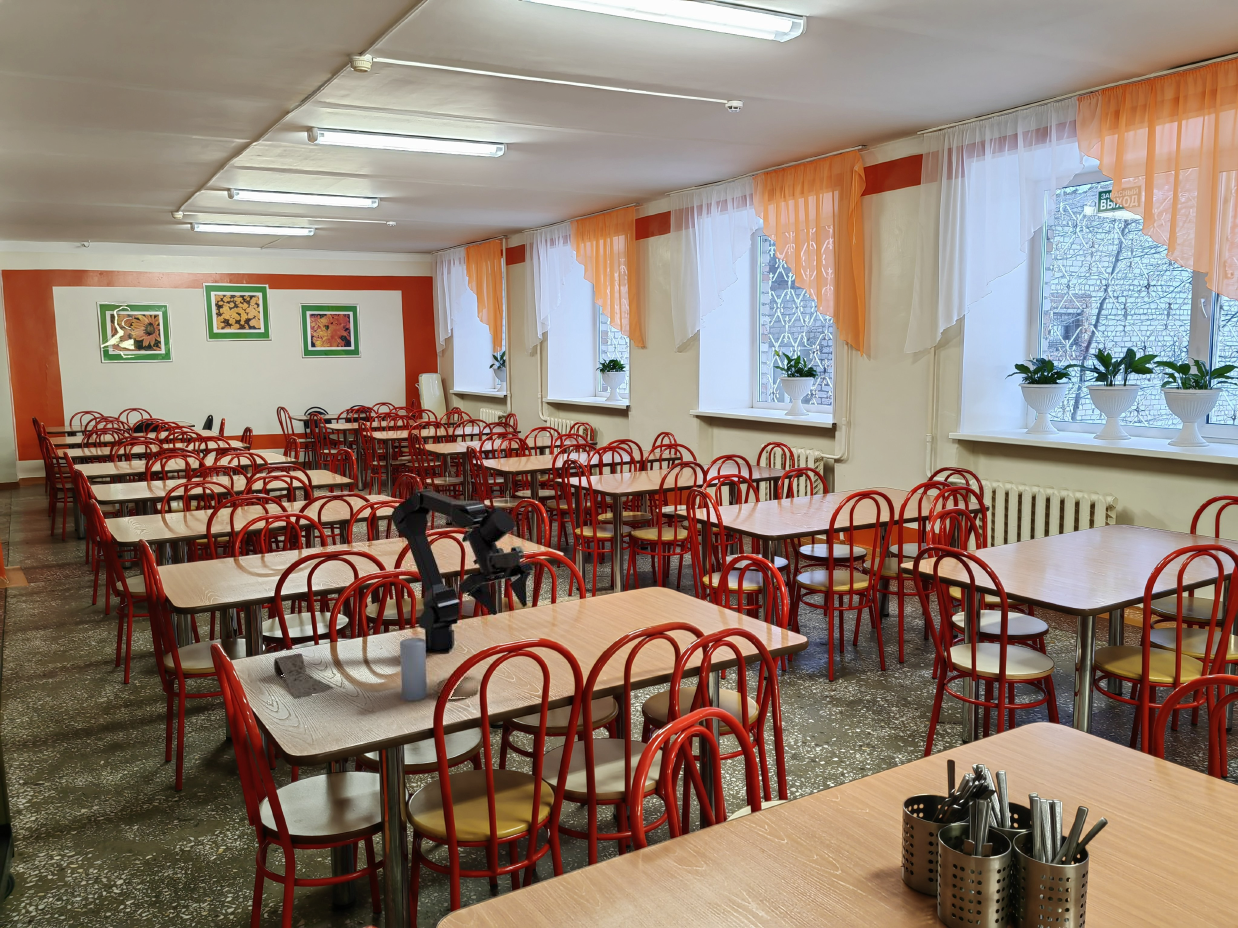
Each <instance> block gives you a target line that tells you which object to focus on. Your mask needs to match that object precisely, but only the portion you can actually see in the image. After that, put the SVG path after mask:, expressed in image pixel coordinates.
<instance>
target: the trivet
mask: <svg viewBox="0 0 1238 928" xmlns="http://www.w3.org/2000/svg"><path fill="white" fill-rule="evenodd" d="M463 677H464V678H463V679H462V680H461V681H460V683H459V684H458V685H457V687H456V688H455V689H454V692H453V694H452V696H451V698H452V697H469V698H471V697H470V696H472V697H474V696H476V695H478V693H479V680H478V679H477V678H474V677H470V676H463ZM448 678H449V677H447V678H444V679H442V680H440V681H438V682H437V684H436V688H437V689H436V690H437V696H438V695H439V694H440V693H441V690H442V688H443V687H444V684H445V683H446V681H447V680H448ZM477 692H478V693H477ZM473 695H474V696H473Z"/></svg>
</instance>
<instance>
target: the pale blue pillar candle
mask: <svg viewBox="0 0 1238 928" xmlns="http://www.w3.org/2000/svg"><path fill="white" fill-rule="evenodd" d="M399 648H400V649H399V652H400V656H399V657H400V676H401V677H400V679H401V699H402V700H403V701H406V702H418V701H423V700H425V699H426V698H427V697H428V685H427V683H428V681H427V656H426V649H425V648H426V644H425V639H424V638H421V637H411V638H405V639H402V640H401V641H400V642H399Z"/></svg>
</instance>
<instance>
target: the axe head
mask: <svg viewBox="0 0 1238 928" xmlns="http://www.w3.org/2000/svg"><path fill="white" fill-rule="evenodd" d="M273 669H274V674H275V677H279V679H281V680H285V682H286V685H287V686H288V688H289V689H288V690H289V692H290V694H291V696H292V699H294V700H297V699H302V698H301V697H304V698H307V697H311V696H313V695H312V694H317V695H318V694H322V693H326V692H328V691H329V692H330V691H331V690H333V689H335V688H334V686H331V685H330V684H329V683H325V682H323V681H322V680H320V679H317V678H316V677H314V676H313V675H310V674H308V673H307V670H306V666H305V659H304V656H303V654H302V653H299V652H298V653H294V654H288V655H283V656H278V657H275V658H274V660H273ZM283 674H284V676H285V677H282V676H281V675H283ZM280 676H281V677H280Z"/></svg>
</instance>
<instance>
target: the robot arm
mask: <svg viewBox="0 0 1238 928" xmlns="http://www.w3.org/2000/svg"><path fill="white" fill-rule="evenodd" d="M431 512H435V513H436V514H437V513H438V514H440V515H443V516H446V517H448V518H449V519H450V521H451V523H452V524H454V525H455V526H457V527H458V528H460V529H466V528H470V527H473V528H472V529H467V530H464V534H463V536H462V538H461V539H462V540H461V541H462V543H466V542H468V543H469V545H470V548H471V550H472V553H473V555H474V557H475V559H473V565H474V566H476V565H478V568H479V570H480V572H479V571H478V572H475V573H471V574H469V575H468V576H466V577H465V578H464V579H462V580H461V581H460V582H459V590H460V592H461V595H465V594H466V595H467V597H471V598H472V599H473V600H475V601H477V602H478V604H480V605H481V606H483V607H484V608H485V609H486V610H487V611H489V612H490V613H491V614H492V615H493V616H496V615H497V614H498V611H497V607H496V604H495V602H494V600H493V598H492V595H491V593H490V584H491V583H494V582H495V583H496V582H499V581H503V580H506V579H507V581H509V582H510V583H509V584H508V585H509V587H510V589H511V591H512V592H513V594H514V595H515V597H516V599H517V600H518V602H519V603H520V605H521V606H522V607H523V608H525V607H527V606H528V603H527V602H528V601H527V599H528V598H527V580H528V578H529V577H530V576H531V573H533V572H534V568H533V566H532V563H530V562H528V561H523V562H521V560H523V559H524V558H525V554H524V553H525V552H524V550H523V548H522V546H521V545H518V546H513V547H511V548H510V551H507V552H505V551H504V549H503V548H502V547H498V546H497V542H500V541H501V540H502V539H503V538H505V537H506V536H507V535H508V534H510V533H511V532H512V531H513V530H514V529H515V520H514V518H513V517H512V516H511V514H509V512H507V511H505V510H502V507H501V506H494V507H493V508H491V509H489V508H488V507H486V506H485V504H484V503H483V502H482V501H478V500H458V499H455V498H454V497H453V498H452V497H450V496H446V495H444V494H441V493H439V492H436V491H435V490H432V489H429V488H427V489H421V490H420V489H419V490H416V491H414V492H413V493H412V494H411V495H410V496H409V497H408V498H406V499H404V500H403V501H402V502H400V503H398V505H397V506H395V507H394V508H393V511H392V513H391V514H390V515H391V520H392V523H393V525H394V527H395V530H396V531H397V533H399V535H400V536H402V537H403V538H405V540H406V541H407V544H408V547H409V549H410V551H411V554H412V558H413V560H414V563H415V566H416V568H417V573H418V574H419V577H420V580H421V582H422V585H423V589H424V592H425V594H424V597H423V608H424V611H422V613H421V615H420V616H419V618H417V622H418V626H419V628H420V629H424V637H425V639H424V640H425V649H426V653H427V654H428V653H429V654H430V653H431V654H432V653H435V654H437V653H438V654H439V653H443V654H447V653H450V652H451V650H452V649H453V648H454V647H455V640H456V639H455V630H454V629H453V625H457V624H458V620H459V616H460V612H461V606H460V603H461V602H460V600H459V599H458V596H457V592H456V589H454V587H450V588H449V587H448V586H447V585H446V584H445V582H444V580H443V578H442V574H441V571H440V569H439V567H438V563H437V560H436V558H435V556H434V552H433V550H432V547H431V544H430V541H429V538H428V536H427V529H428V526H429V525H428V524H429V520H428V516H429V515H430V513H431Z"/></svg>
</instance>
